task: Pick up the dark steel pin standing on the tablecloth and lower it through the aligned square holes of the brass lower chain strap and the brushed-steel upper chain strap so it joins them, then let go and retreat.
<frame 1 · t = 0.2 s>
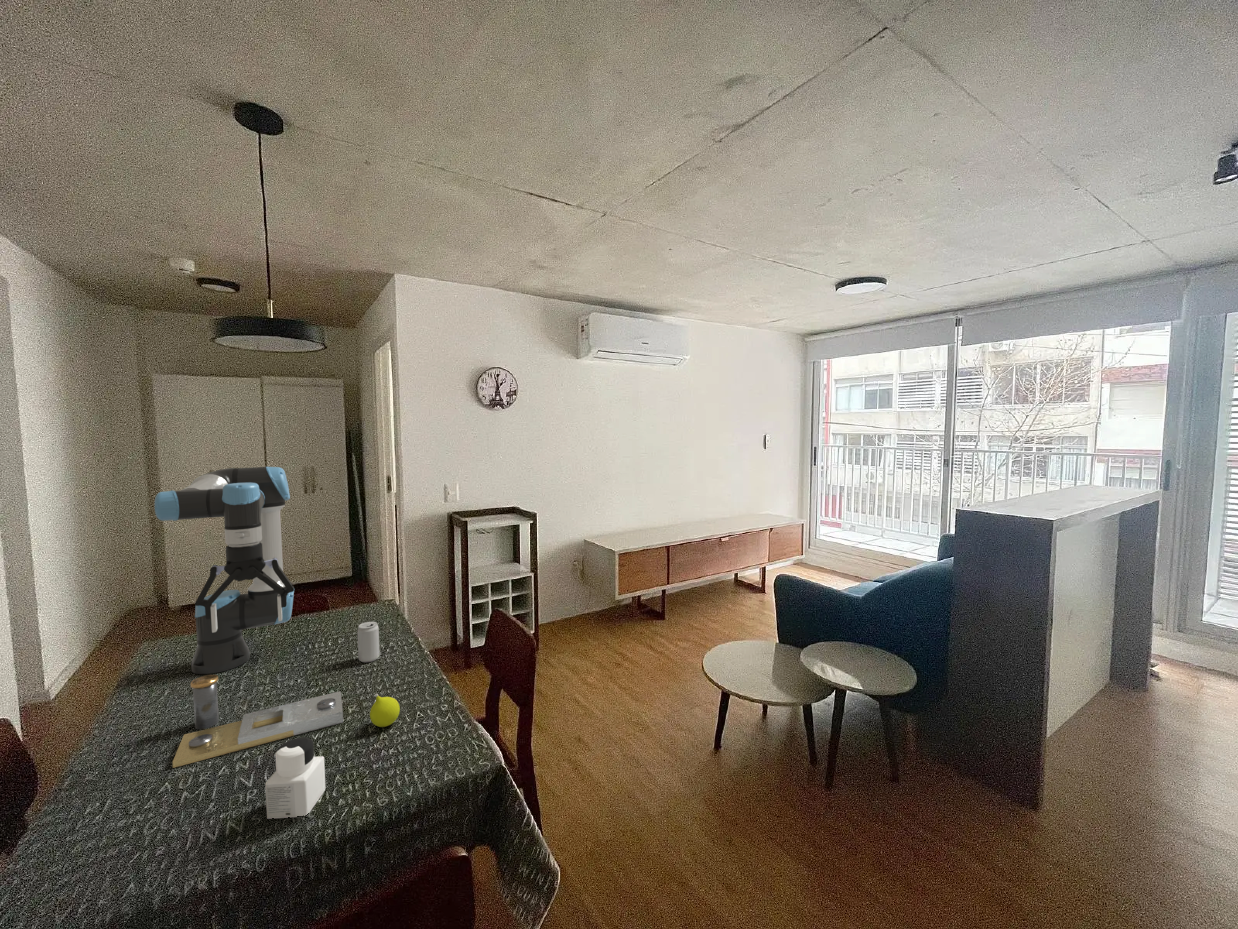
hand: (248, 625, 129), 27 cm above the table, fingers open, 13 cm apart
link a: (268, 730, 129), on the table
pin: (207, 724, 131), on the table
lemon: (385, 725, 131), on the table
container: (297, 805, 103), on the table
link b: (268, 730, 129), on the table
beverage can: (369, 659, 168), on the table
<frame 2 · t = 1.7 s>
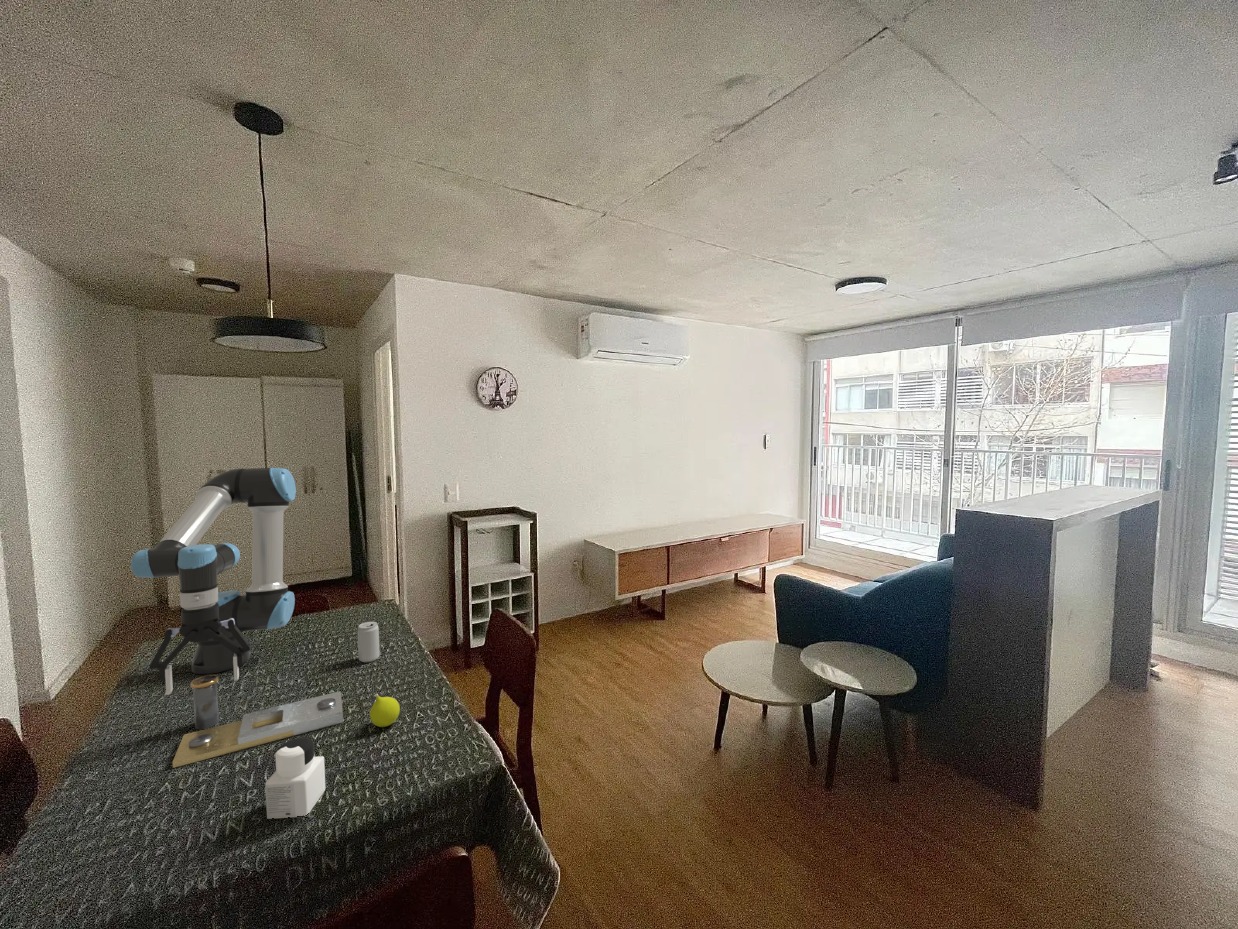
hand: (204, 685, 130), 11 cm above the table, fingers open, 13 cm apart
nothing on the table moved.
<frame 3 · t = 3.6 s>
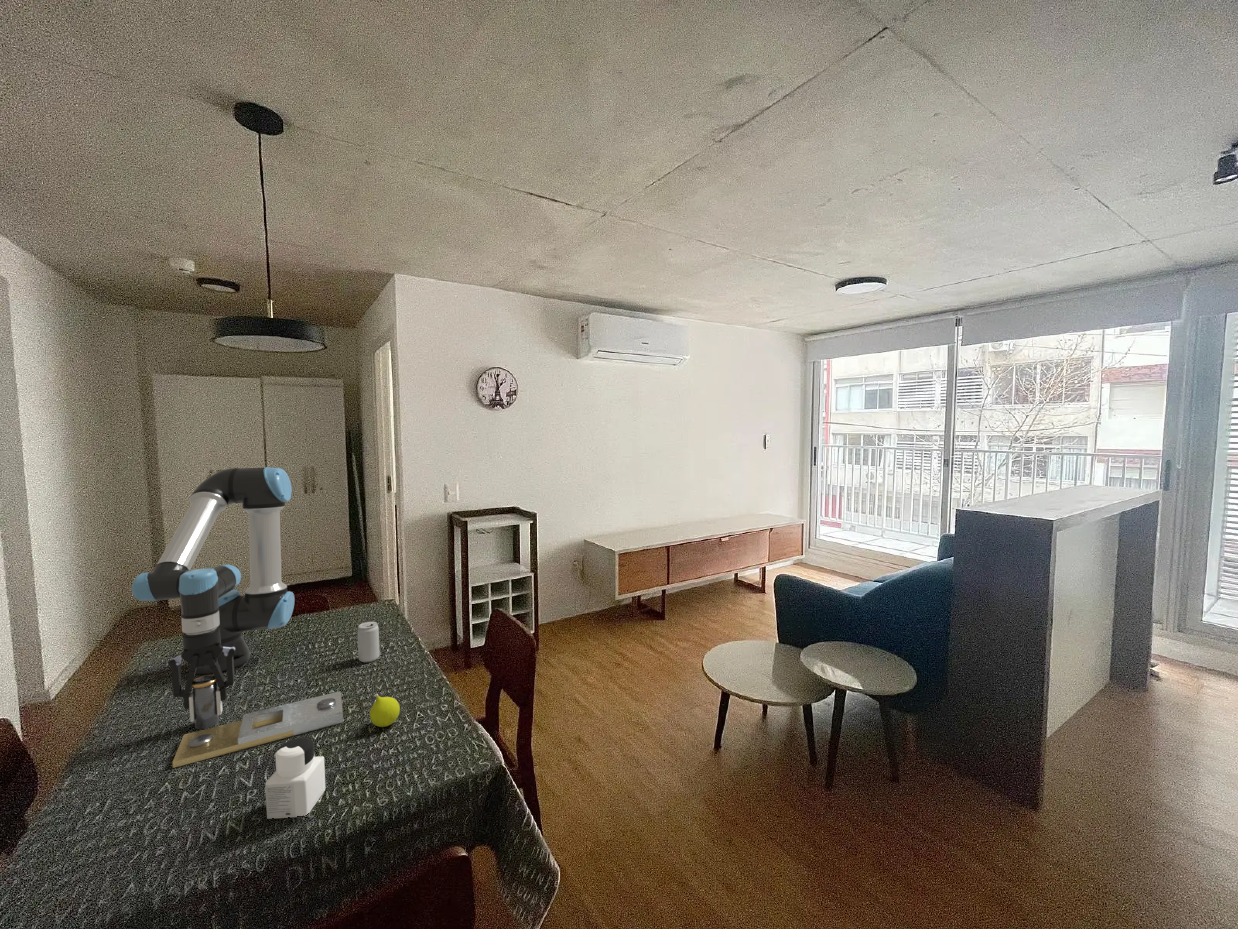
hand: (206, 715, 131), 2 cm above the table, fingers closed on pin, 5 cm apart
pin: (207, 723, 131), on the table, touching gripper
everything else where it was.
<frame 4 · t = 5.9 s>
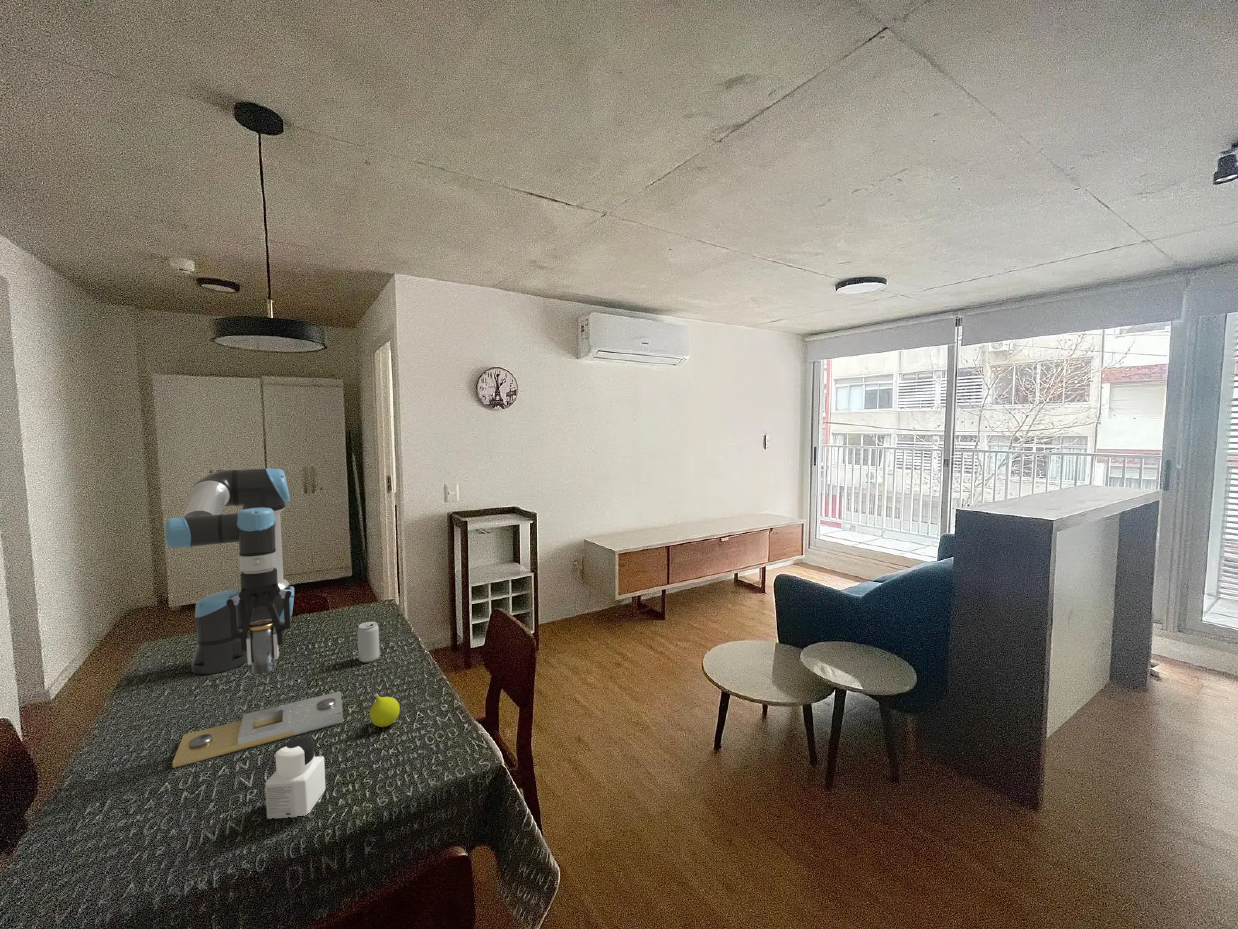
hand: (263, 659, 127), 19 cm above the table, fingers closed on pin, 5 cm apart
pin: (264, 669, 127), point 16 cm above the table, touching gripper
everything else where it was.
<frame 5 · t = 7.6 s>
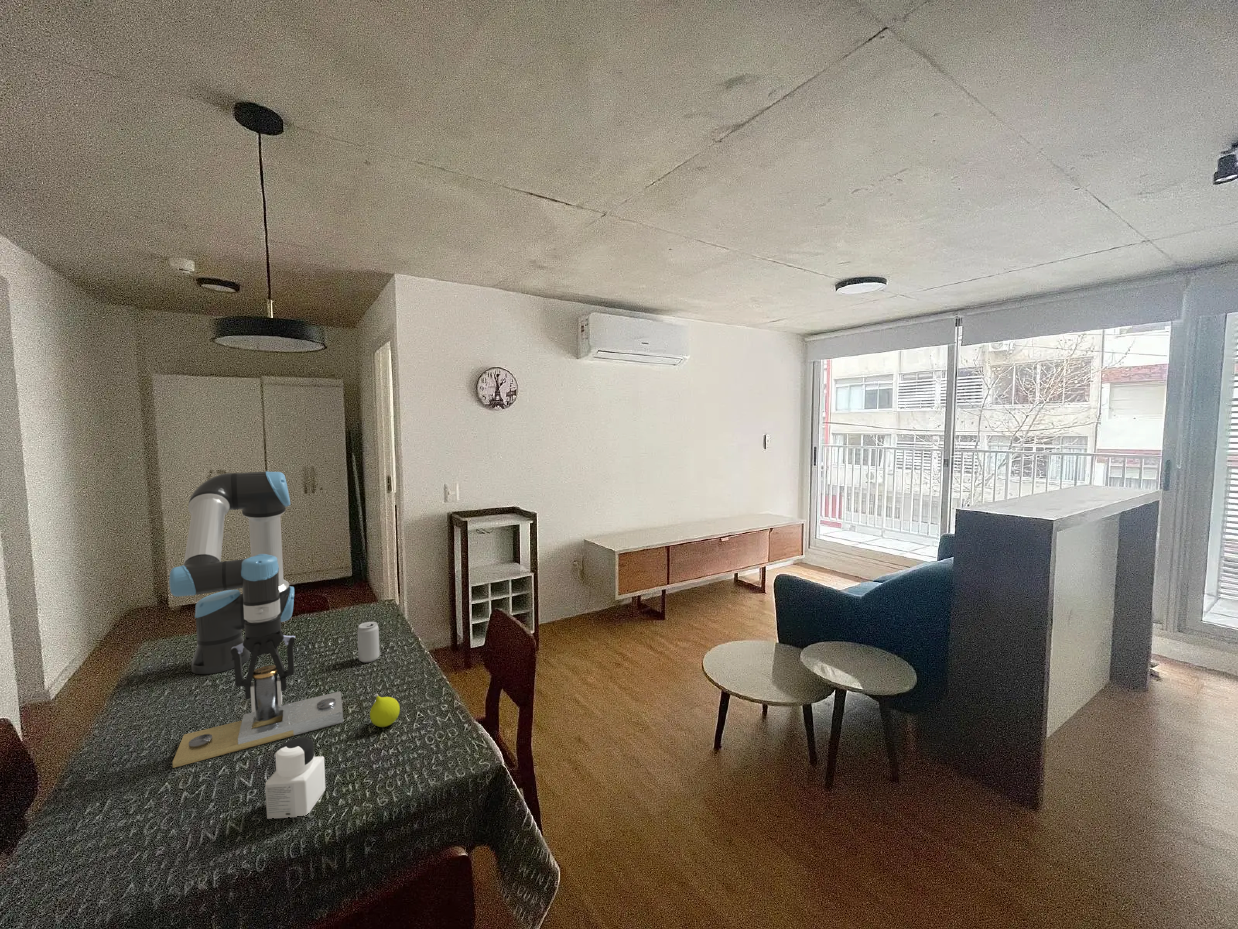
hand: (267, 706, 128), 7 cm above the table, fingers closed on pin, 5 cm apart
pin: (267, 715, 128), point 4 cm above the table, touching gripper
everything else where it was.
when the fingers open (4 cm above the table, at t = 8.7 s): pin drops 2 cm, resting in link a.
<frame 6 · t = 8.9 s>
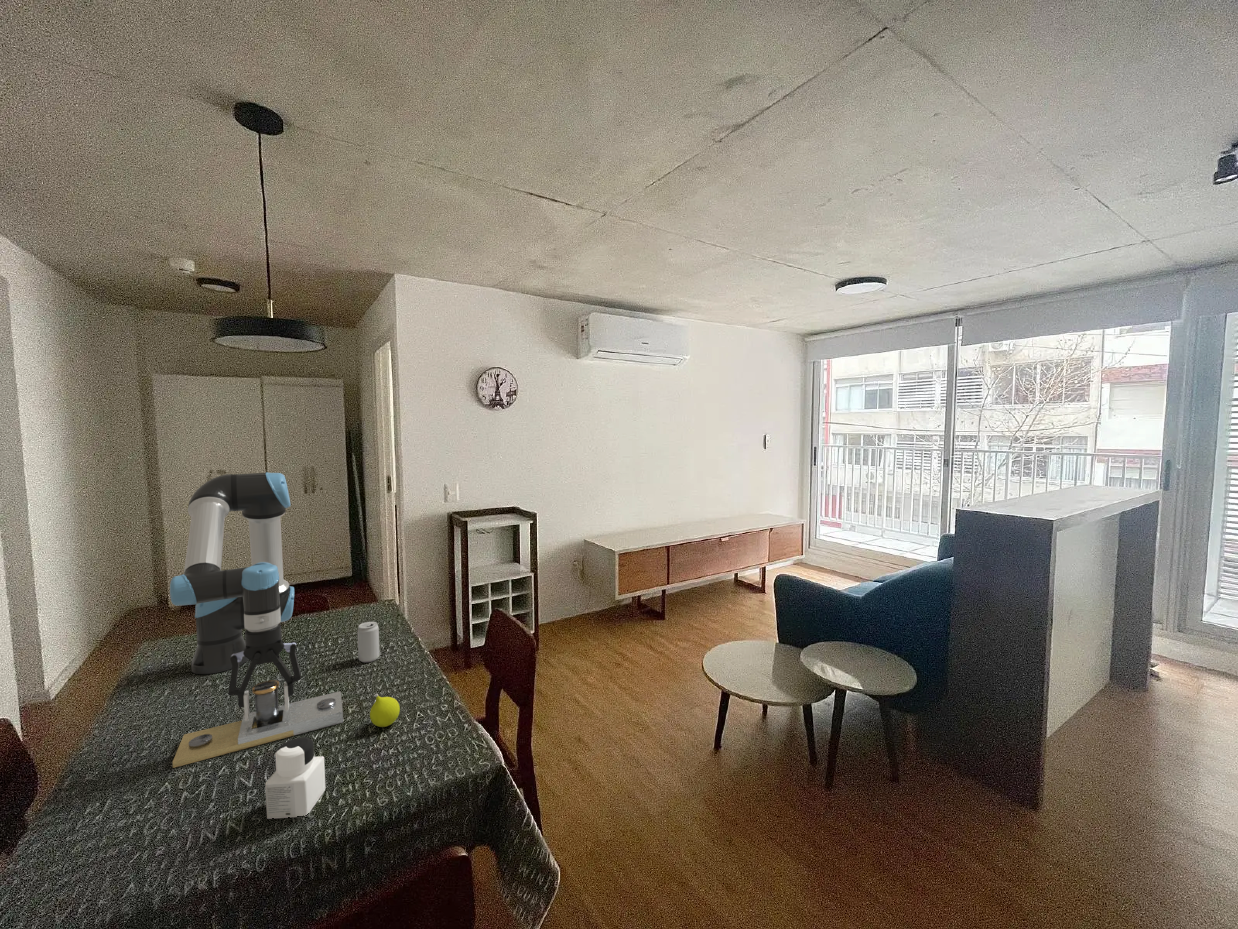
hand: (267, 713, 128), 5 cm above the table, fingers open, 8 cm apart
pin: (268, 730, 128), resting in link a
everything else where it was.
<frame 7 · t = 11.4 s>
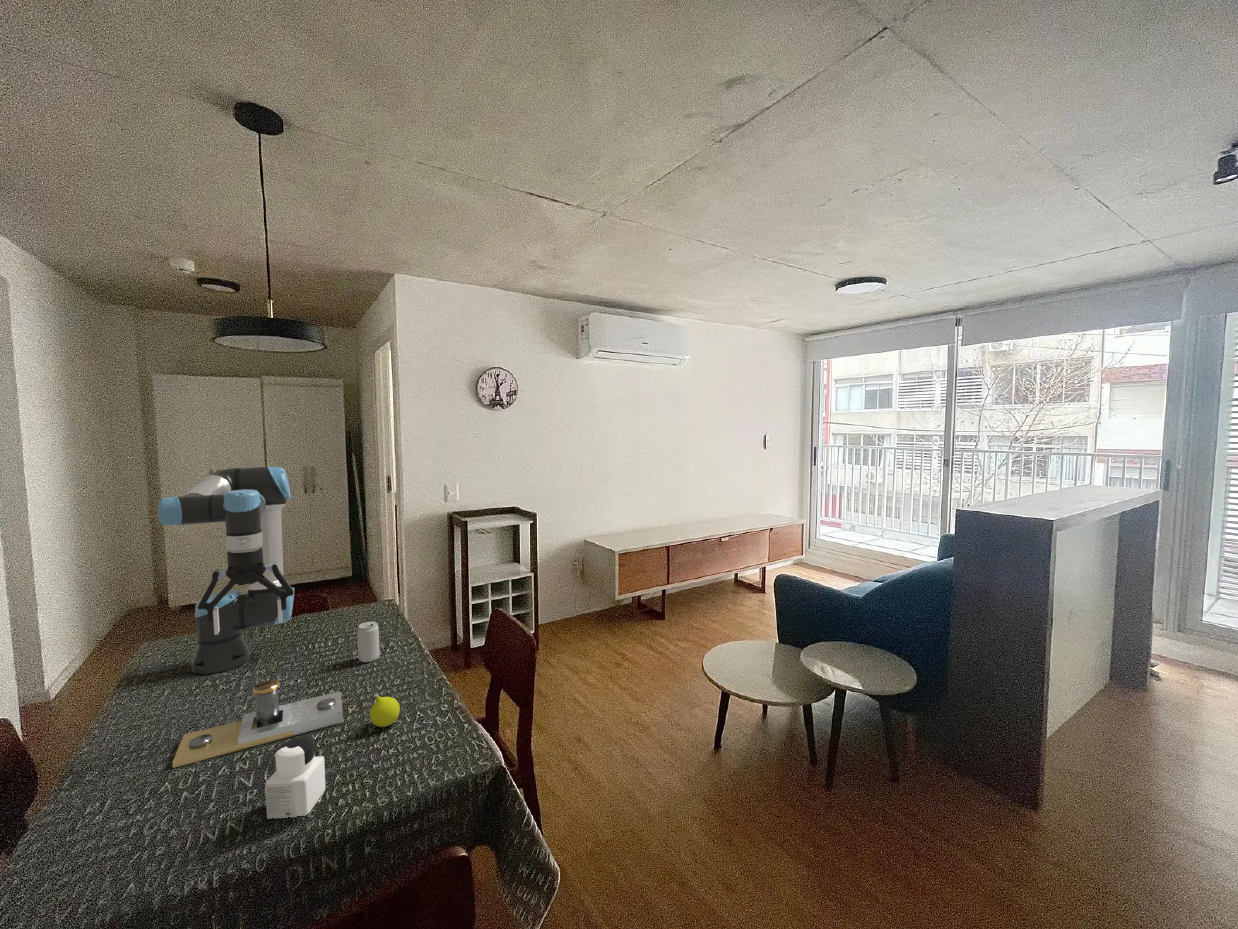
hand: (249, 627, 133), 25 cm above the table, fingers open, 13 cm apart
nothing on the table moved.
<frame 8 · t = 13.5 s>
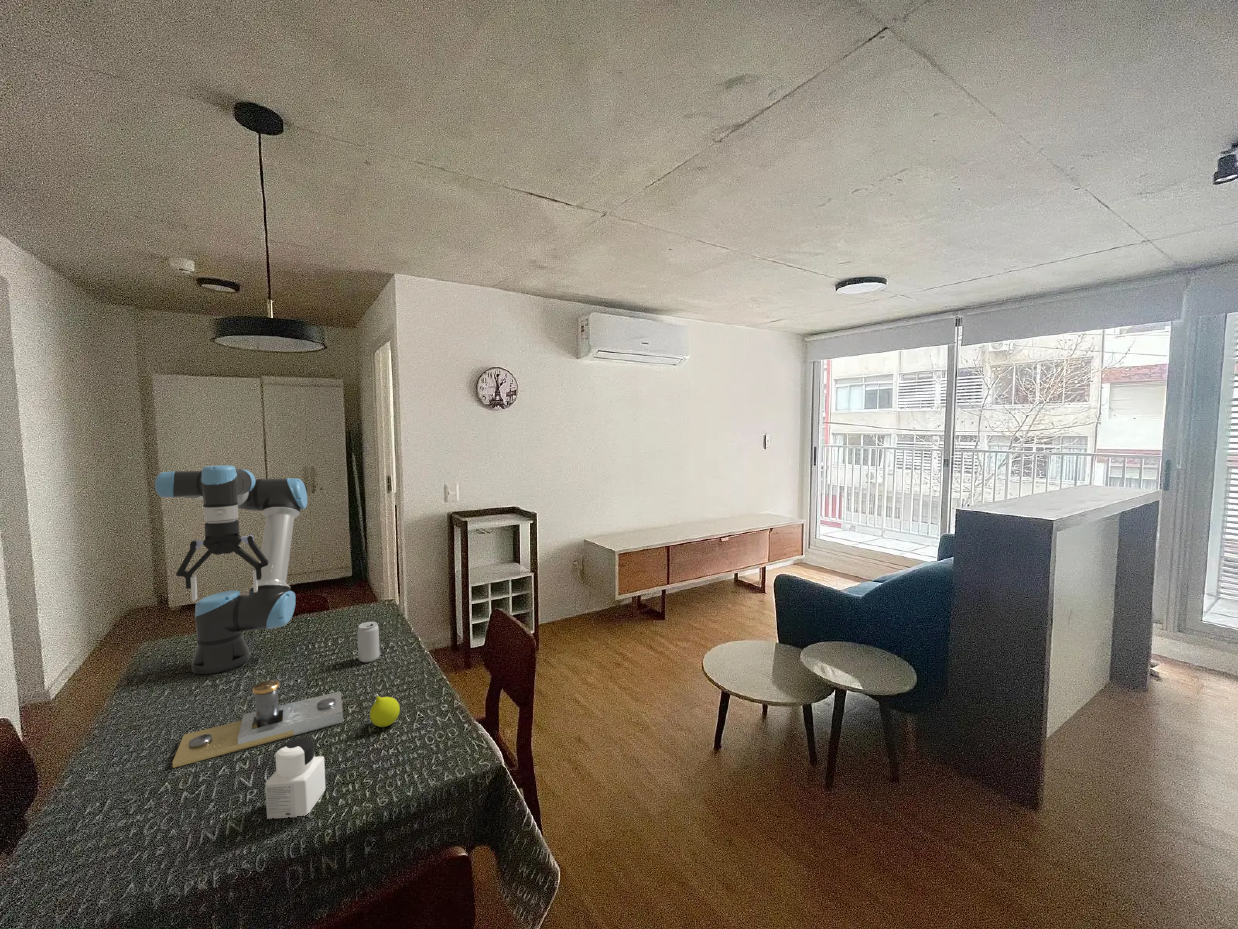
hand: (226, 595, 141), 31 cm above the table, fingers open, 13 cm apart
nothing on the table moved.
at the end: pin 0.0 cm off-centre on the link a, point 0.0 cm above the link a's base; pin tilted 0°; the gripper is holding nothing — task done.
